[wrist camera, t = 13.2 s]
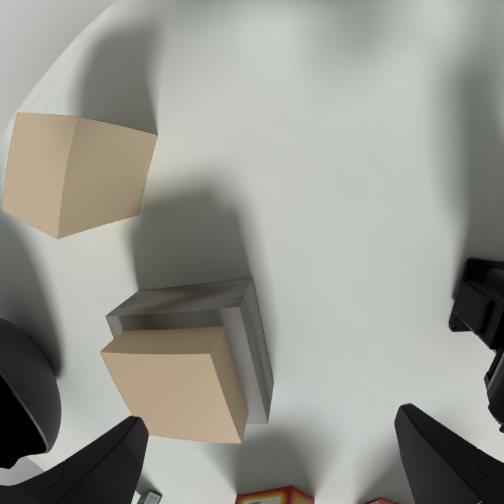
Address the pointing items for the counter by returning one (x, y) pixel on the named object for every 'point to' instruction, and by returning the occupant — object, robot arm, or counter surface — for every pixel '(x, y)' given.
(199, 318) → the block
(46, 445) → the coal bowl
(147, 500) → the coffee box
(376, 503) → the cracker box
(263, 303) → the counter surface
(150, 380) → the box lid
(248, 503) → the baking soda box
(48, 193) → the box
